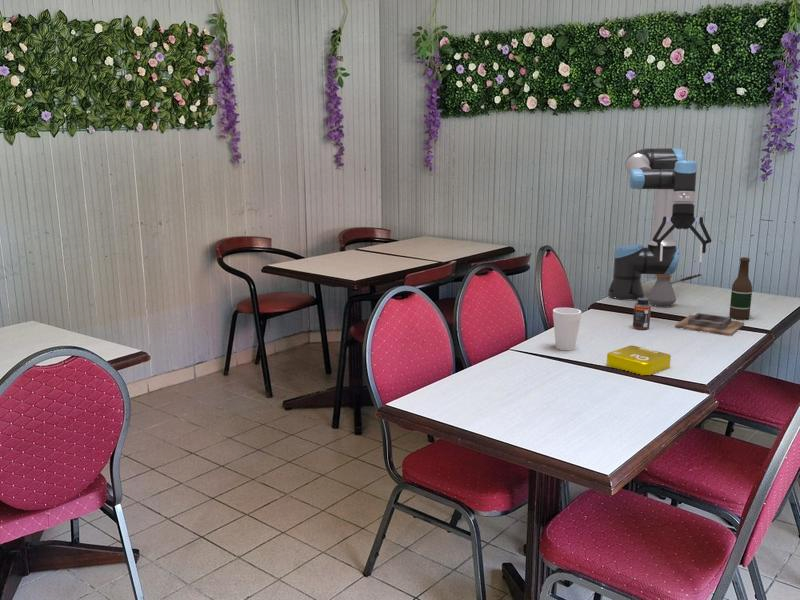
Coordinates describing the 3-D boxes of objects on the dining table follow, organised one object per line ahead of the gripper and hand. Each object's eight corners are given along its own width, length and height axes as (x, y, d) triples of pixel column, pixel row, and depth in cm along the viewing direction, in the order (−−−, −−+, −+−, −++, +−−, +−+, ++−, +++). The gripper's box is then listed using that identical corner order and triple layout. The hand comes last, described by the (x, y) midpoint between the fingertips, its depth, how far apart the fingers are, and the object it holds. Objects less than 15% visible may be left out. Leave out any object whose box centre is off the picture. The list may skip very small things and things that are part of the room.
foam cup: (579, 352, 250) (581, 314, 247) (551, 351, 252) (553, 313, 249) (578, 344, 259) (580, 308, 256) (551, 343, 261) (553, 307, 258)
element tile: (672, 367, 235) (673, 353, 234) (646, 378, 226) (647, 362, 225) (630, 357, 247) (631, 343, 246) (603, 366, 237) (604, 351, 236)
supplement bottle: (650, 330, 278) (652, 300, 275) (633, 329, 279) (635, 300, 276) (648, 326, 283) (650, 297, 281) (631, 325, 284) (633, 296, 282)
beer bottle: (753, 320, 292) (759, 259, 287) (733, 320, 292) (739, 259, 287) (744, 315, 300) (750, 256, 294) (725, 315, 300) (730, 256, 294)
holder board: (674, 327, 282) (675, 319, 281) (689, 317, 297) (690, 309, 297) (731, 336, 270) (732, 327, 269) (744, 324, 286) (744, 317, 285)
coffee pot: (643, 305, 317) (645, 270, 314) (652, 300, 326) (654, 266, 323) (695, 312, 305) (698, 276, 301) (703, 307, 314) (706, 272, 310)
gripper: (647, 202, 275) (644, 260, 276) (721, 203, 266) (717, 262, 268) (648, 204, 282) (645, 260, 283) (720, 204, 273) (716, 262, 275)
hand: (680, 261), depth 276 cm, fingers open, 13 cm apart
